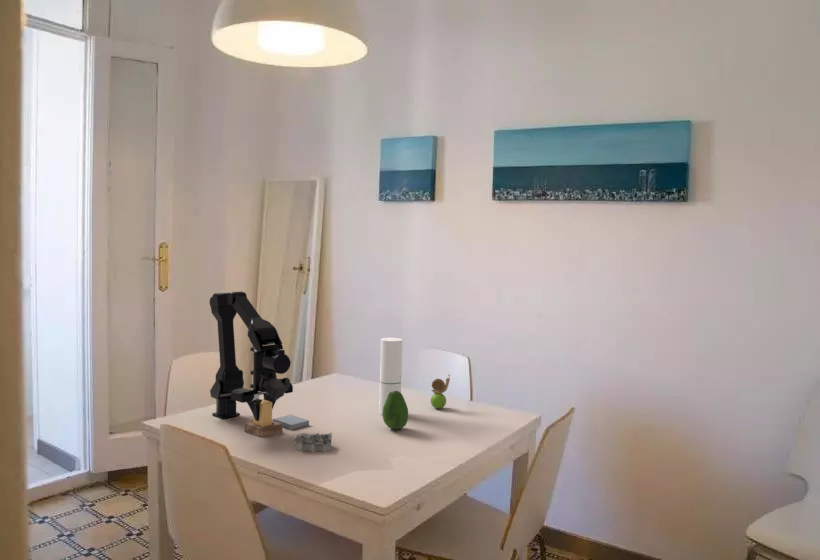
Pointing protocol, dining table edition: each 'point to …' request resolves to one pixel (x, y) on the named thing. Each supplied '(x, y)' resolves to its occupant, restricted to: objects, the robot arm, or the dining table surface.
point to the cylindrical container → (389, 368)
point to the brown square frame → (263, 429)
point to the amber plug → (264, 414)
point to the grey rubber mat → (292, 421)
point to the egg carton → (313, 442)
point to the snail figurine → (439, 393)
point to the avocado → (395, 411)
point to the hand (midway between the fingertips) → (262, 419)
